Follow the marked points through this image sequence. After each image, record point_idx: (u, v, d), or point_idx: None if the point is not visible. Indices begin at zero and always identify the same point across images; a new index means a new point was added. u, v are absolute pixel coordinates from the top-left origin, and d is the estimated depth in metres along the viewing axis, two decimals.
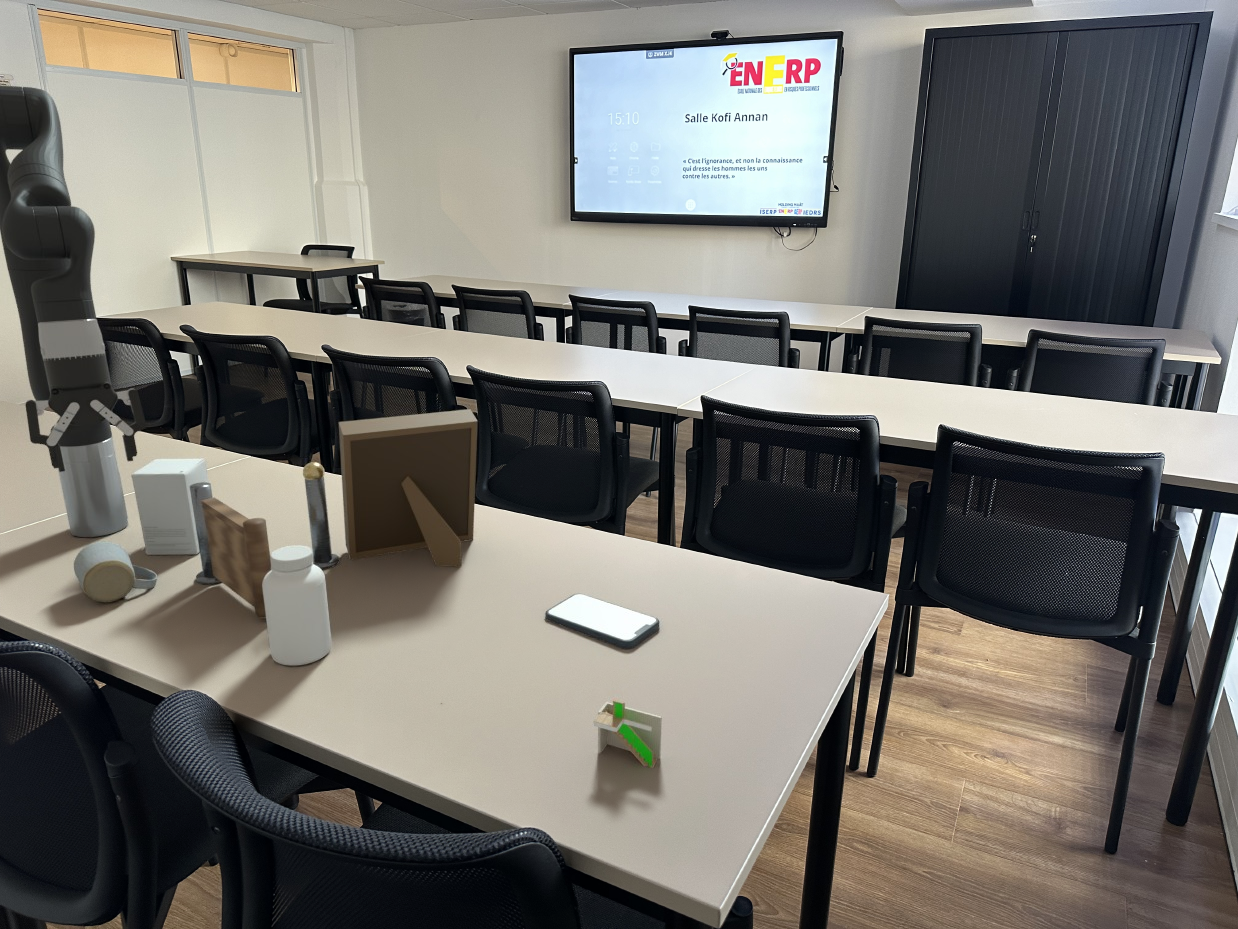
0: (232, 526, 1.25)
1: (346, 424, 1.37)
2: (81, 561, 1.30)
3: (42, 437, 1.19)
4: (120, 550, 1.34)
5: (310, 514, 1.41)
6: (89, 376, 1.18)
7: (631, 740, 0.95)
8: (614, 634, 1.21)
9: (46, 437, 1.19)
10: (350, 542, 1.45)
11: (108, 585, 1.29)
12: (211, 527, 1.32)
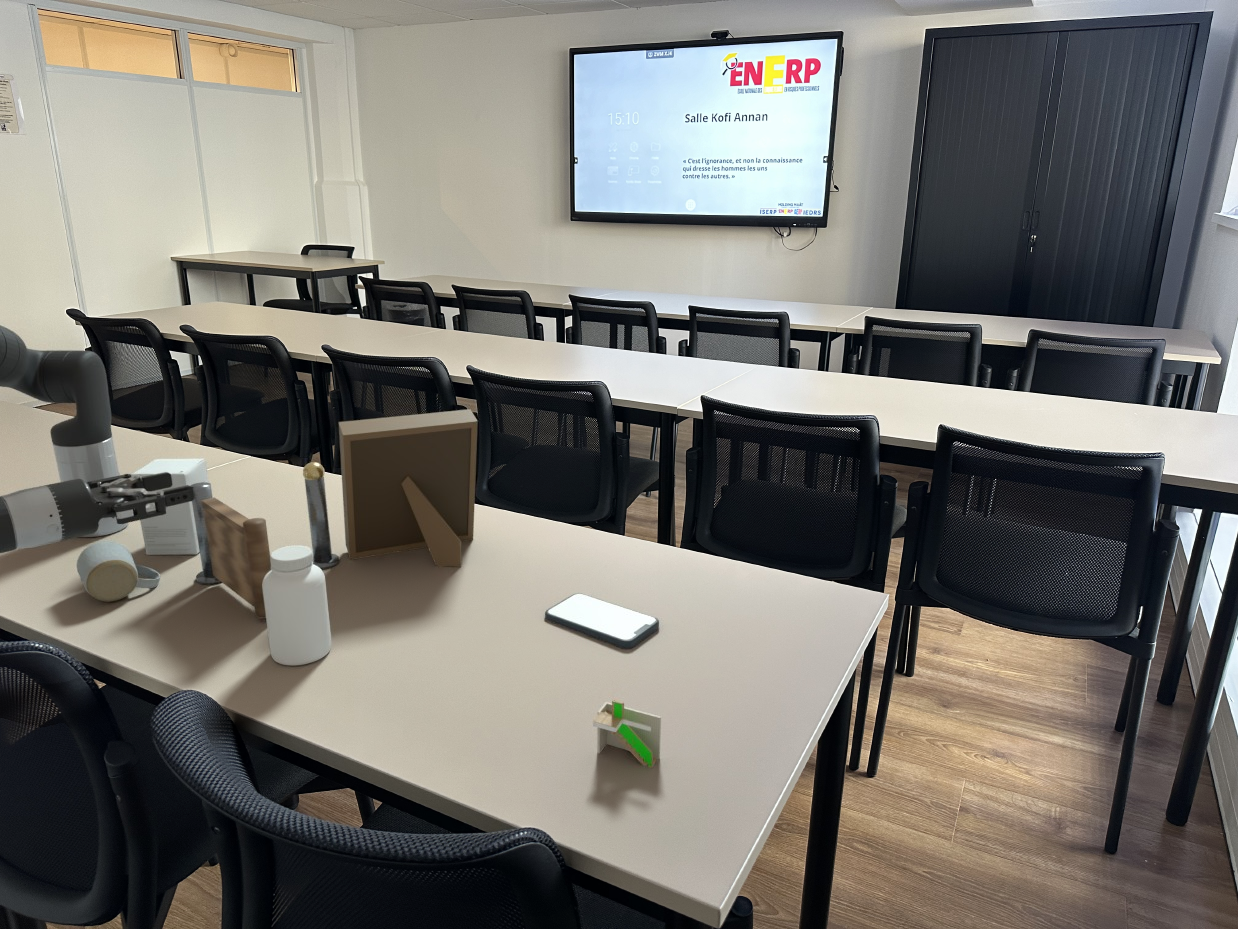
0: (232, 526, 1.25)
1: (346, 424, 1.37)
2: (84, 560, 1.30)
3: None
4: (123, 549, 1.34)
5: (310, 514, 1.41)
6: (84, 535, 1.13)
7: (630, 740, 0.95)
8: (614, 634, 1.21)
9: None
10: (350, 542, 1.45)
11: (111, 584, 1.30)
12: (211, 527, 1.32)
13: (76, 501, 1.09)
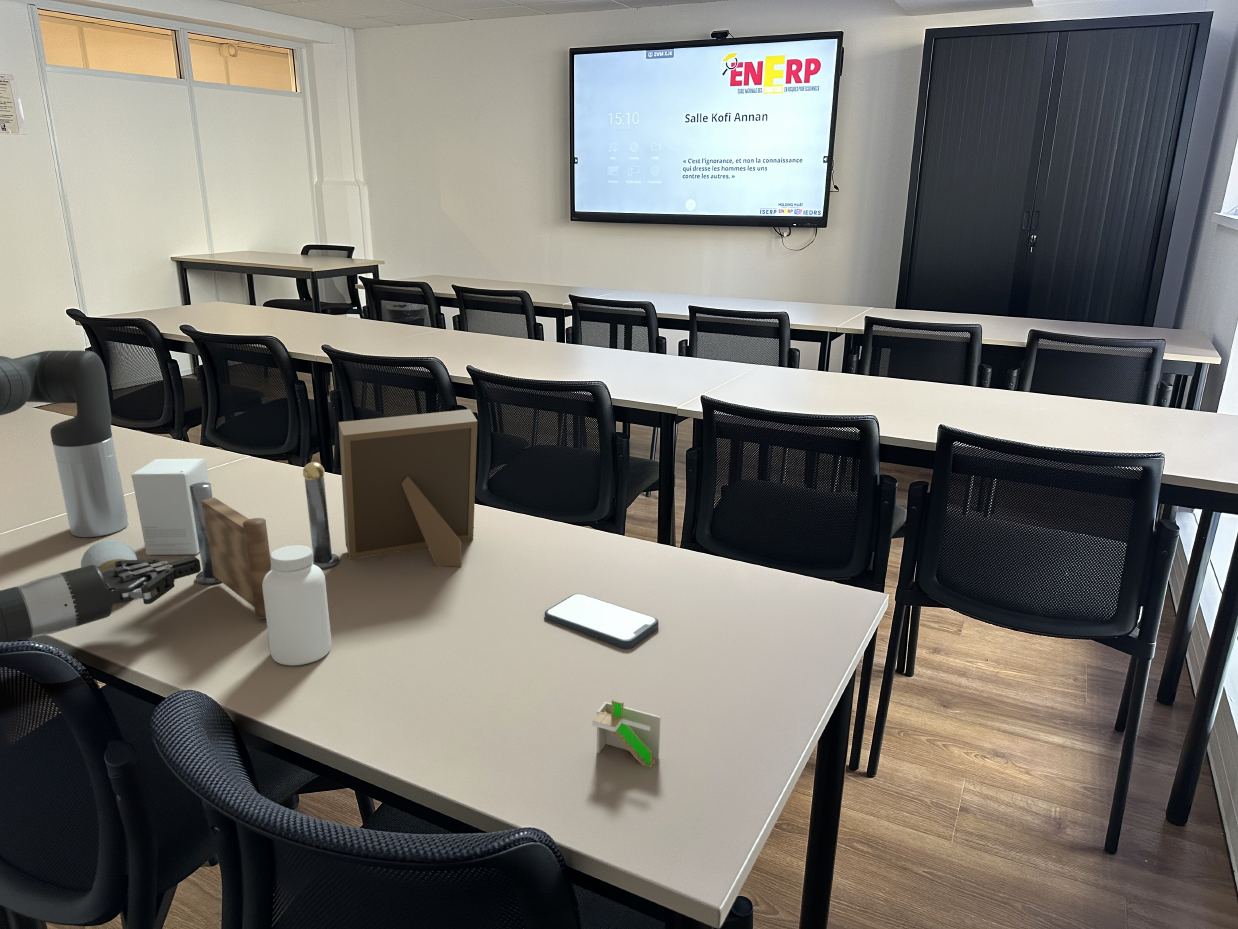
0: (232, 526, 1.25)
1: (346, 424, 1.37)
2: (88, 559, 1.31)
3: (157, 574, 1.23)
4: (127, 548, 1.34)
5: (310, 514, 1.41)
6: None
7: (630, 740, 0.95)
8: (613, 634, 1.21)
9: None
10: (350, 542, 1.45)
11: None
12: (211, 527, 1.32)
13: (90, 589, 1.13)
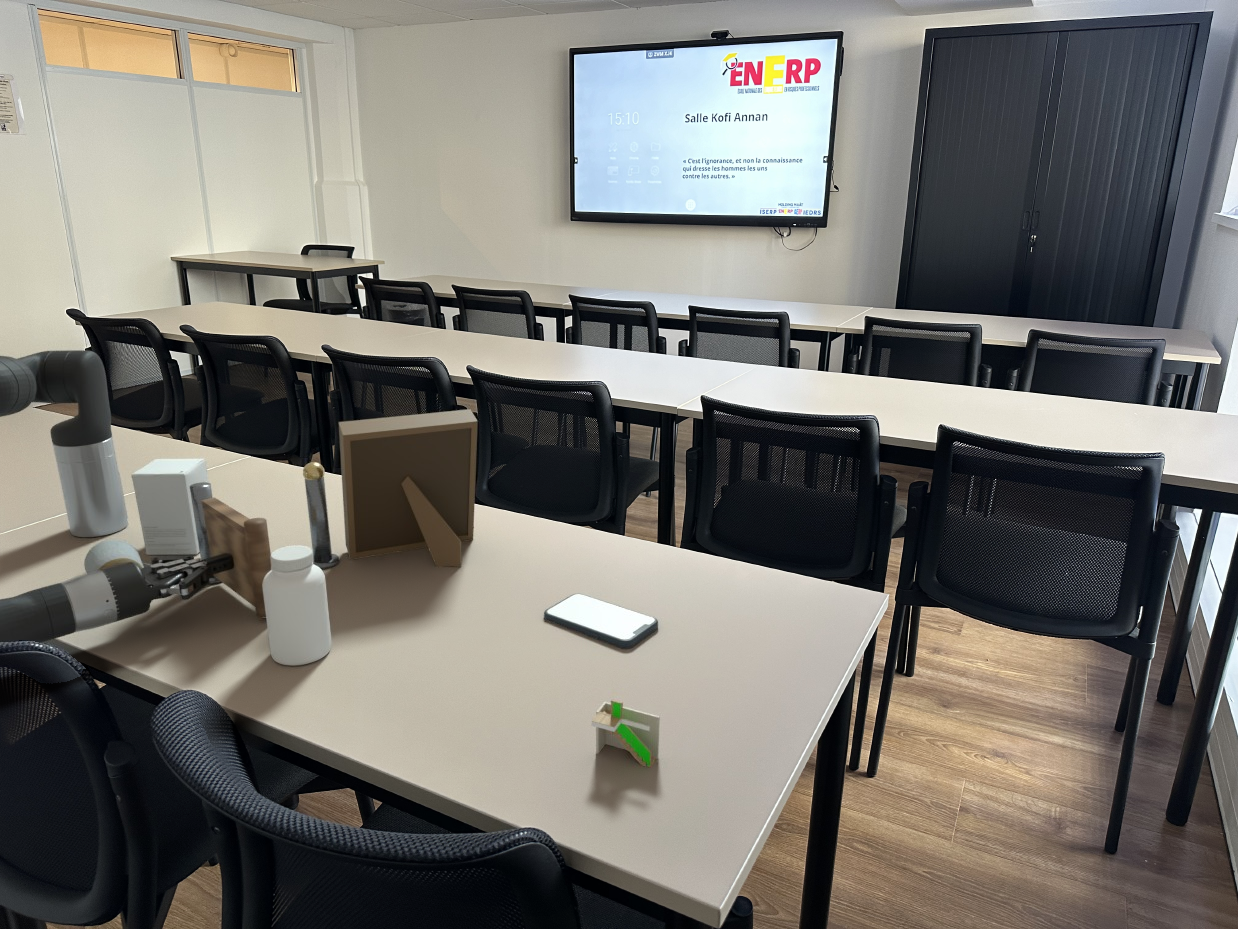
0: (233, 526, 1.25)
1: (346, 424, 1.37)
2: (92, 559, 1.31)
3: None
4: (130, 548, 1.35)
5: (310, 514, 1.41)
6: None
7: (629, 740, 0.95)
8: (613, 634, 1.21)
9: None
10: (350, 542, 1.45)
11: None
12: (212, 527, 1.32)
13: (130, 585, 1.17)
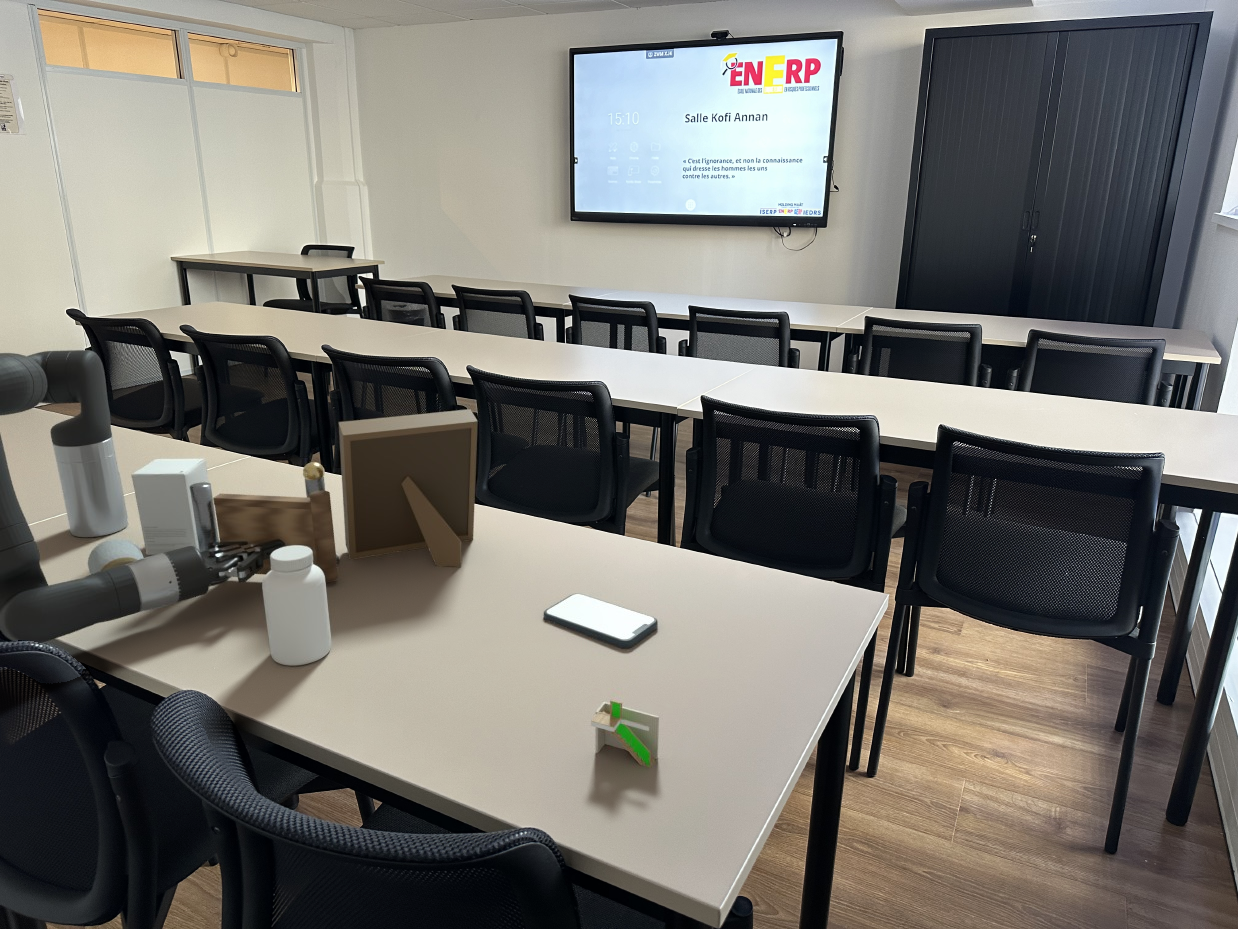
0: (283, 507, 1.33)
1: (346, 424, 1.37)
2: (95, 558, 1.31)
3: None
4: (134, 547, 1.35)
5: None
6: None
7: (628, 740, 0.95)
8: (612, 634, 1.21)
9: None
10: (350, 542, 1.45)
11: None
12: (231, 520, 1.35)
13: (191, 567, 1.22)
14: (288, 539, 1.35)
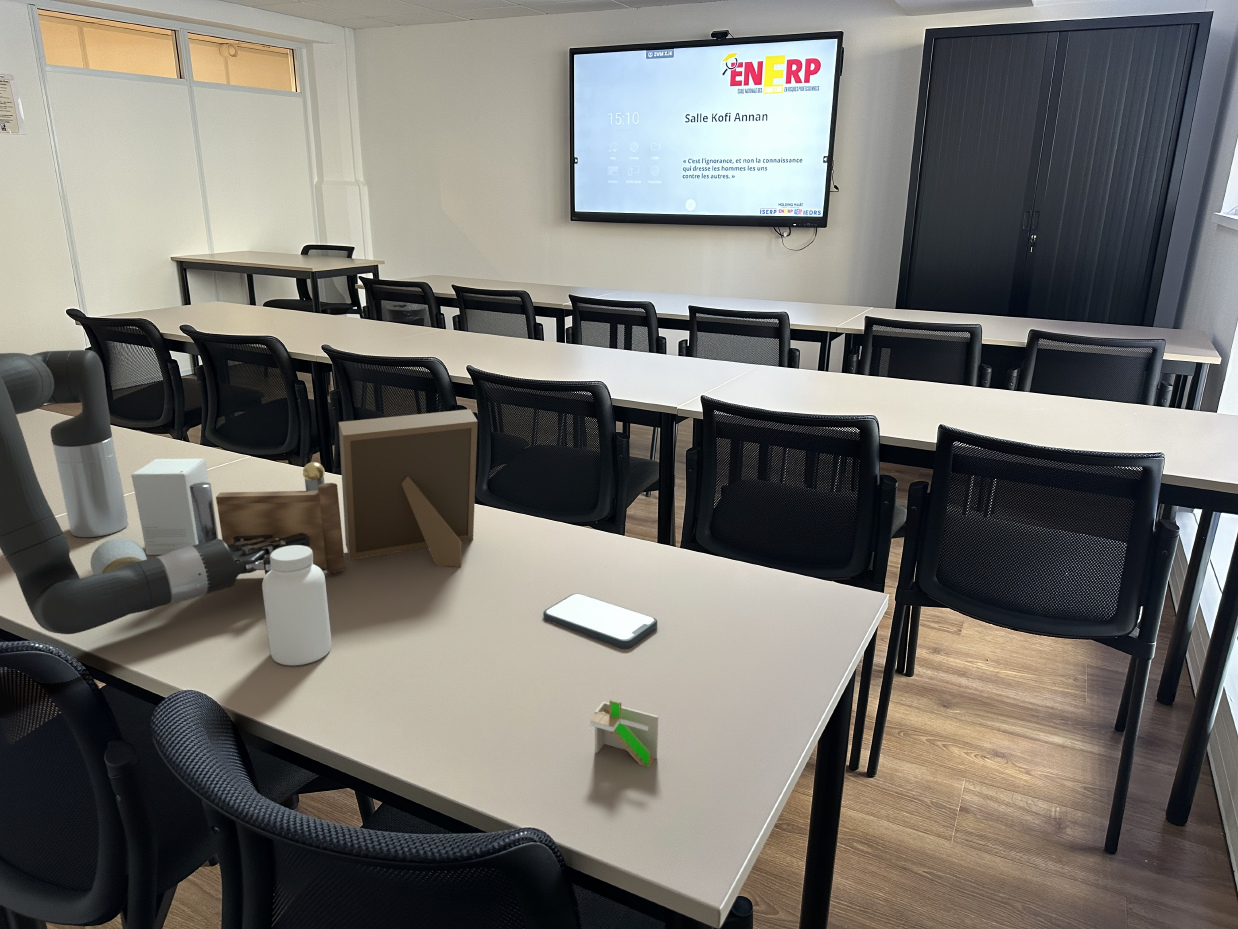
0: (291, 501, 1.35)
1: (346, 424, 1.37)
2: (98, 557, 1.31)
3: None
4: (136, 547, 1.35)
5: None
6: None
7: (628, 740, 0.95)
8: (612, 634, 1.21)
9: None
10: (350, 542, 1.45)
11: None
12: (235, 518, 1.35)
13: (219, 560, 1.24)
14: (295, 533, 1.37)
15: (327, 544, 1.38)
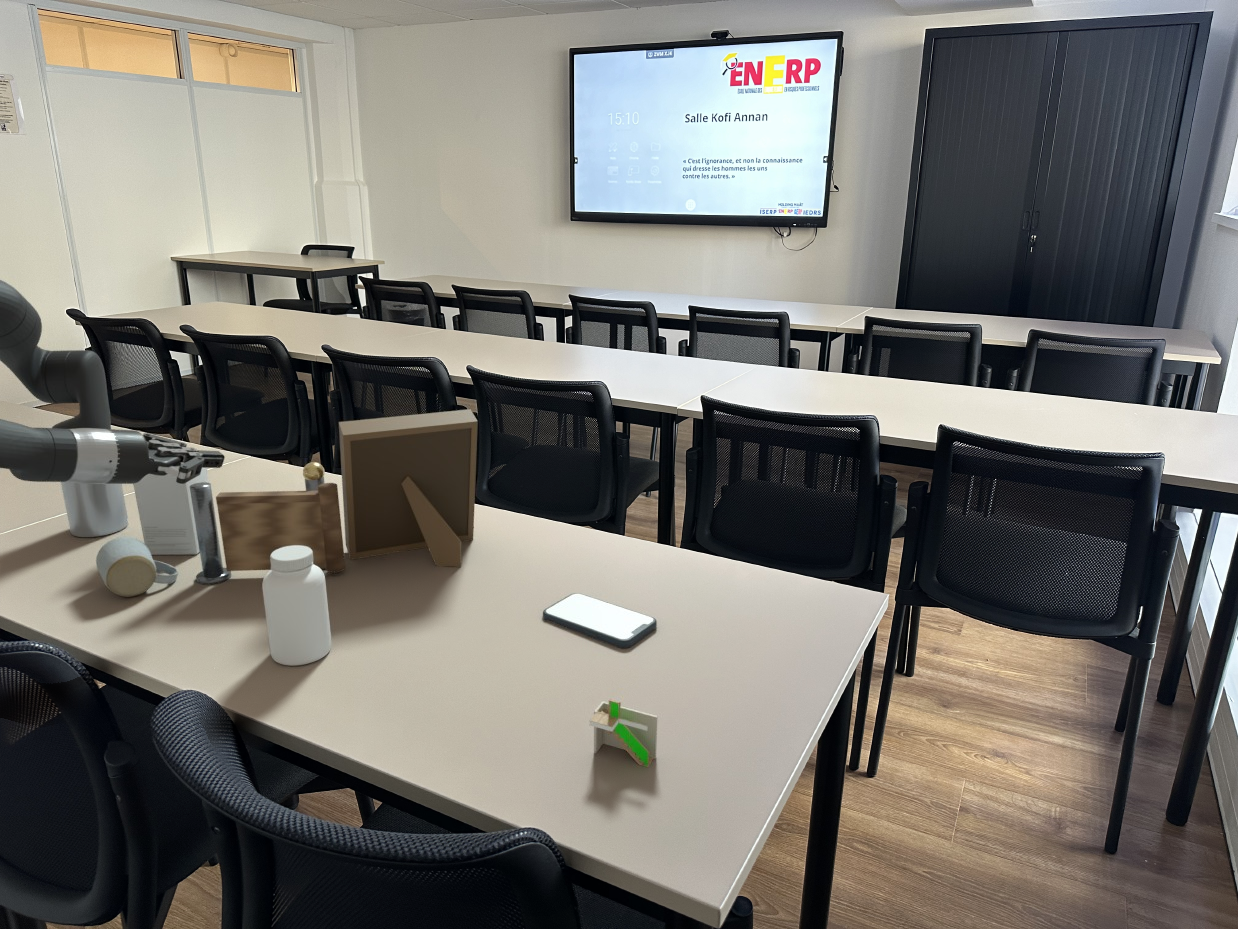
0: (291, 501, 1.35)
1: (346, 424, 1.37)
2: (104, 556, 1.32)
3: None
4: (142, 545, 1.36)
5: None
6: None
7: (627, 739, 0.95)
8: (611, 634, 1.21)
9: None
10: (350, 542, 1.45)
11: (130, 580, 1.31)
12: (235, 518, 1.35)
13: (135, 453, 1.16)
14: (295, 532, 1.37)
15: (327, 544, 1.38)
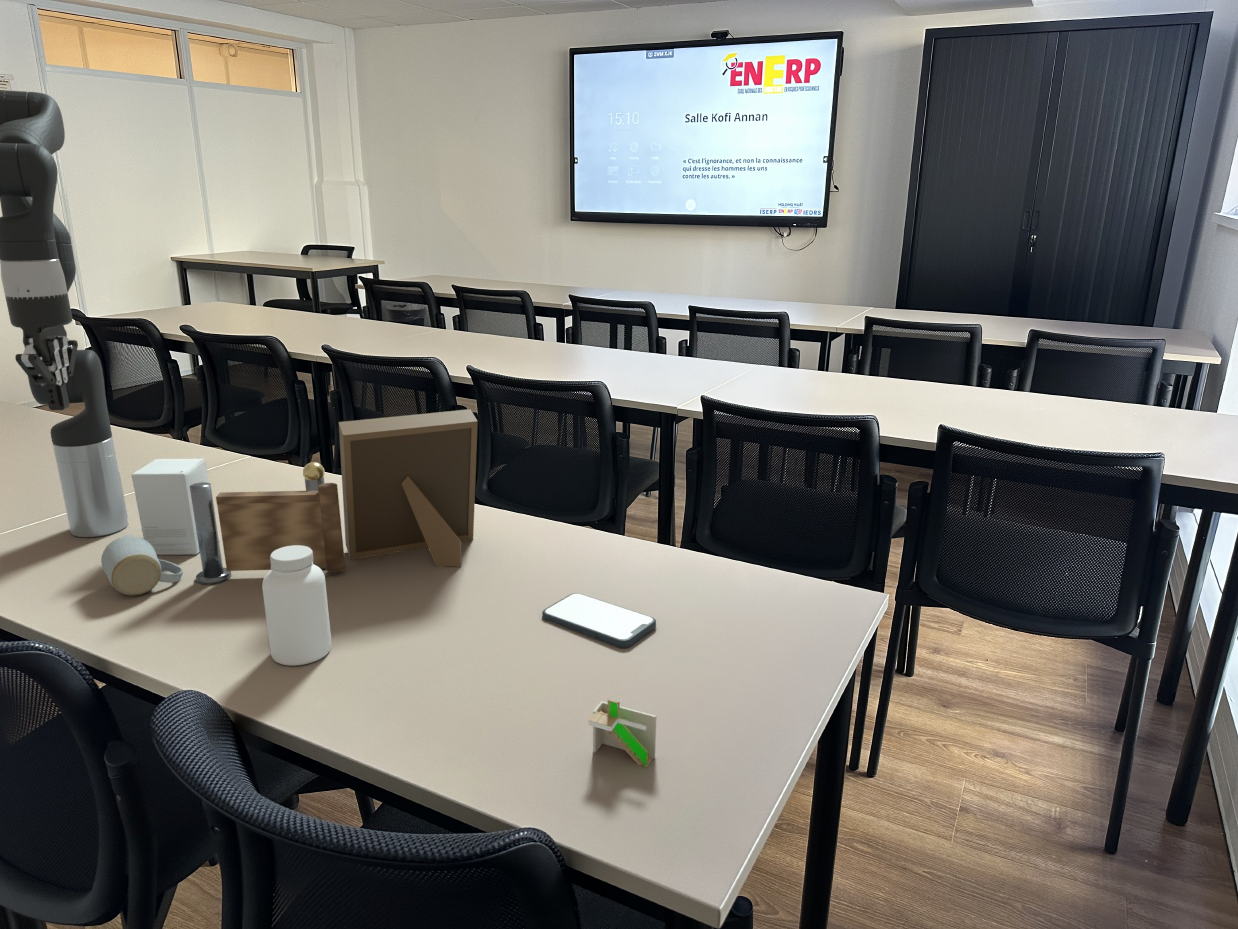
0: (291, 501, 1.35)
1: (346, 424, 1.37)
2: (109, 555, 1.32)
3: None
4: (147, 544, 1.36)
5: None
6: None
7: (626, 739, 0.96)
8: (611, 634, 1.21)
9: None
10: (350, 542, 1.45)
11: (135, 578, 1.31)
12: (235, 518, 1.35)
13: (42, 313, 1.20)
14: (295, 532, 1.37)
15: (327, 544, 1.38)
